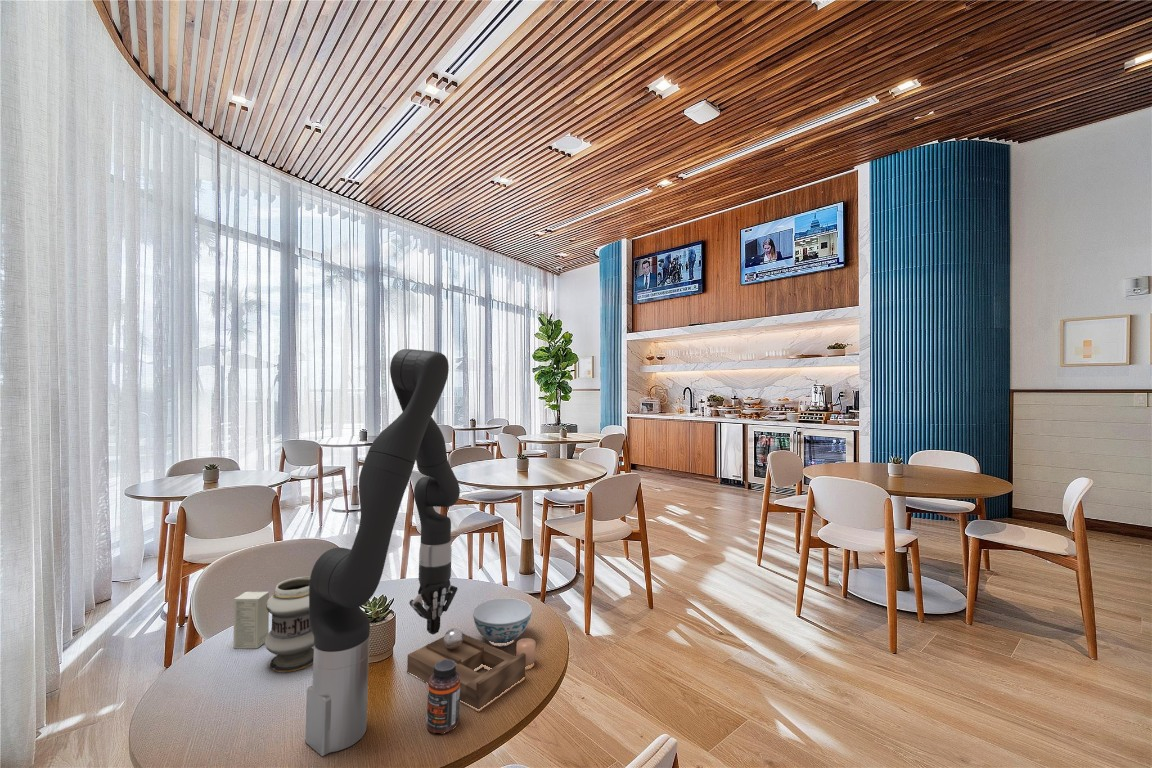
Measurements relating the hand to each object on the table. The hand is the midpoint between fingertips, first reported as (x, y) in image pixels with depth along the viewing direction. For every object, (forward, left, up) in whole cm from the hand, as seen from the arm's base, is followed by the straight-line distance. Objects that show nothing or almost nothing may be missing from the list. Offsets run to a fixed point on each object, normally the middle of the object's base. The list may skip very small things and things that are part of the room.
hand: (433, 632), depth 115 cm
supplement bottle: (-15, -21, -6) cm, 27 cm away
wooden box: (-1, -12, -5) cm, 14 cm away
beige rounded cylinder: (+10, -20, -5) cm, 24 cm away
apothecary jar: (-21, +24, -6) cm, 32 cm away
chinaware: (+15, -8, -6) cm, 18 cm away
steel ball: (0, -7, +1) cm, 7 cm away
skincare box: (-24, +40, -6) cm, 46 cm away
